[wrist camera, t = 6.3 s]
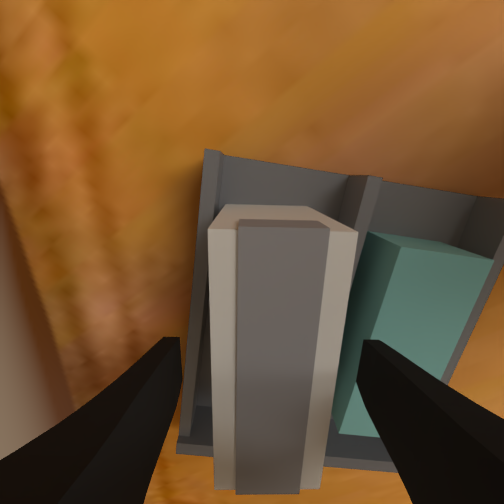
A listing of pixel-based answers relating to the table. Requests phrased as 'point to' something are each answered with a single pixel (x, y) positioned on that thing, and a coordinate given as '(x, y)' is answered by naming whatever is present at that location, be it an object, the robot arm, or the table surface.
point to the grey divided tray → (361, 220)
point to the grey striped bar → (275, 342)
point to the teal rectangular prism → (404, 312)
